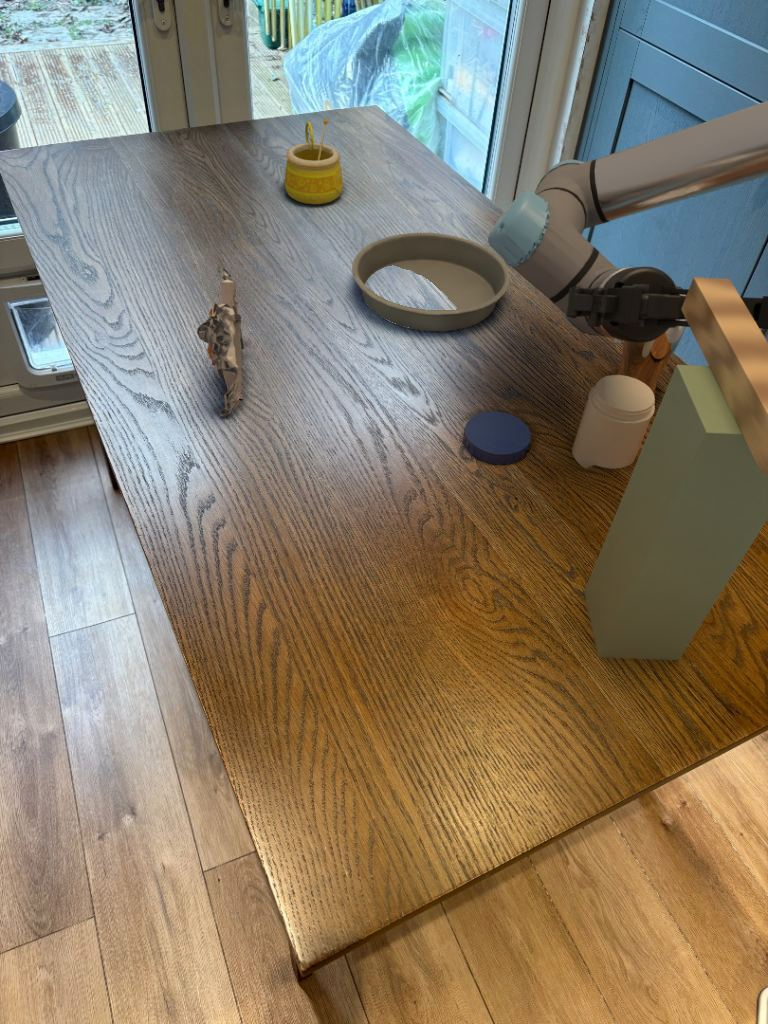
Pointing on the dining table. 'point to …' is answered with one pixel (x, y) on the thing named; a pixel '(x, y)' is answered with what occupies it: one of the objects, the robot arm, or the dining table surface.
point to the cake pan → (436, 278)
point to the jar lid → (497, 437)
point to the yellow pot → (313, 171)
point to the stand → (677, 525)
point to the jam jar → (613, 422)
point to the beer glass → (650, 356)
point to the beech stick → (733, 356)
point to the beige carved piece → (225, 341)
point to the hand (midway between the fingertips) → (721, 310)
